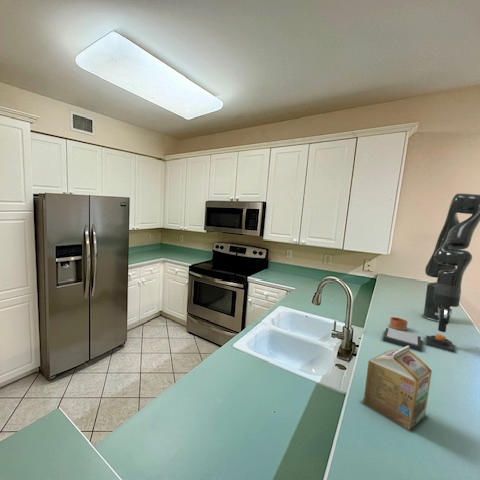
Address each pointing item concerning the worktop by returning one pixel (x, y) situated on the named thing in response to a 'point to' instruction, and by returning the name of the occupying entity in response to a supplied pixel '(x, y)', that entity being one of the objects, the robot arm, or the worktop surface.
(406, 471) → the worktop surface
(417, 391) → the milk carton
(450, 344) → the block
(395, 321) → the copper cup
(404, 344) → the scale
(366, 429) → the worktop surface
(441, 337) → the tare button
